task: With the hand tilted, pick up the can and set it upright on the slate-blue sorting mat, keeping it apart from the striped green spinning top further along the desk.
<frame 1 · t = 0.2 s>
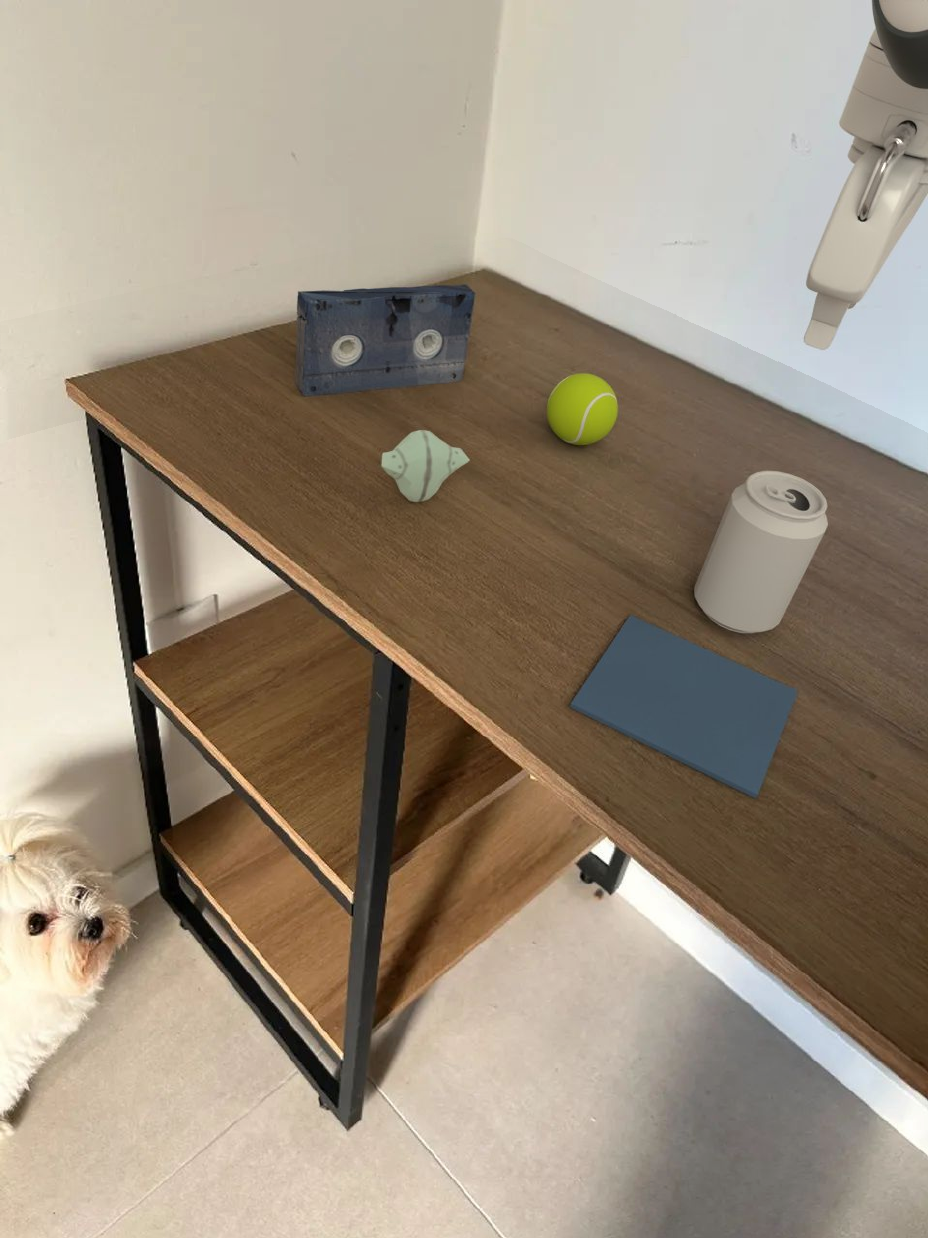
hand: (830, 323, 67), 23 cm above the table, tool pointing down, fingers open, 8 cm apart
can: (733, 611, 78), on the table
tennis ball: (573, 441, 96), on the table
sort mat: (686, 701, 69), on the table
vhs cassette tape: (380, 384, 99), on the table
striped green spinning top: (415, 501, 83), on the table
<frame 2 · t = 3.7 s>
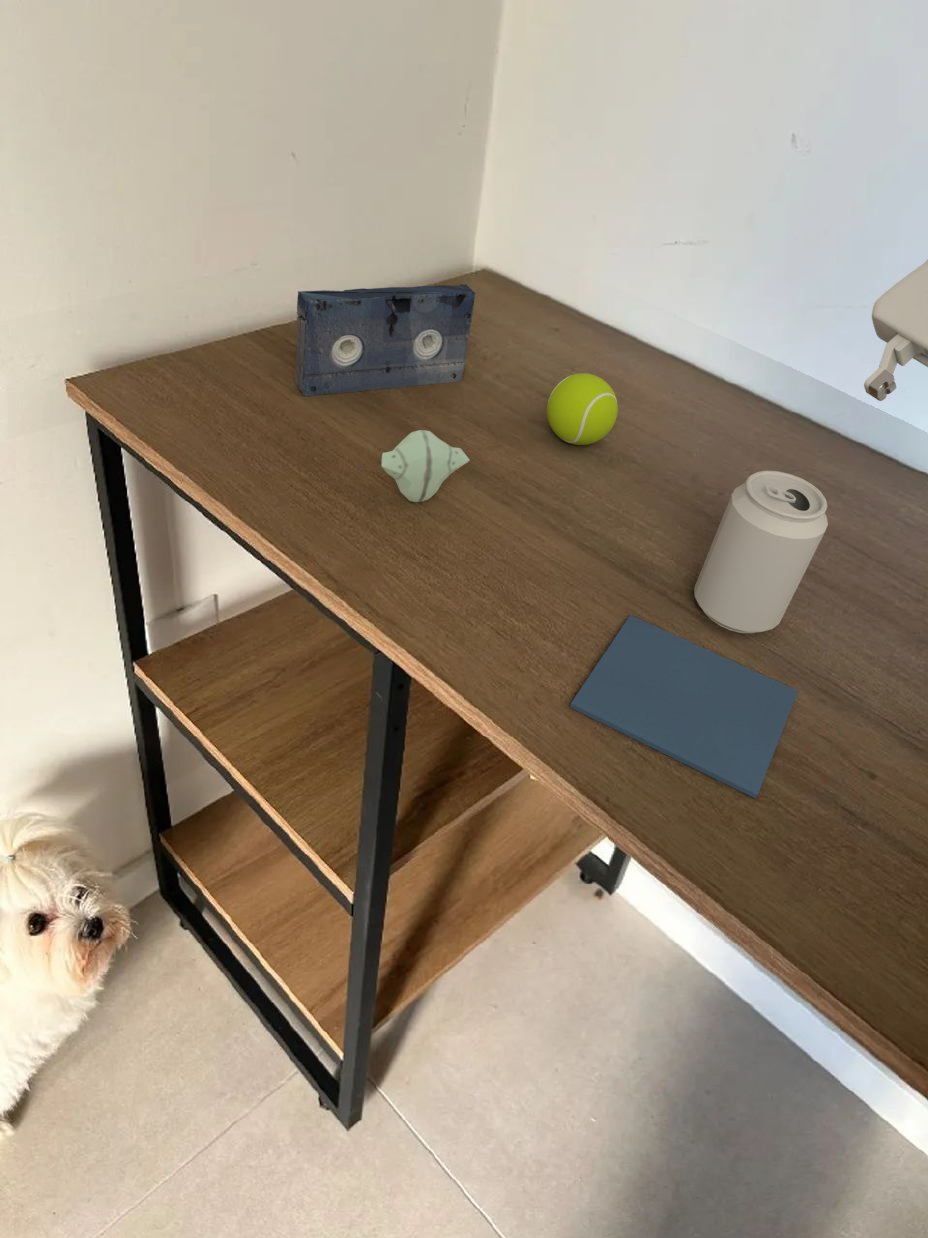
hand: (916, 422, 73), 16 cm above the table, tool tilted 45°, fingers open, 8 cm apart
nothing on the table moved.
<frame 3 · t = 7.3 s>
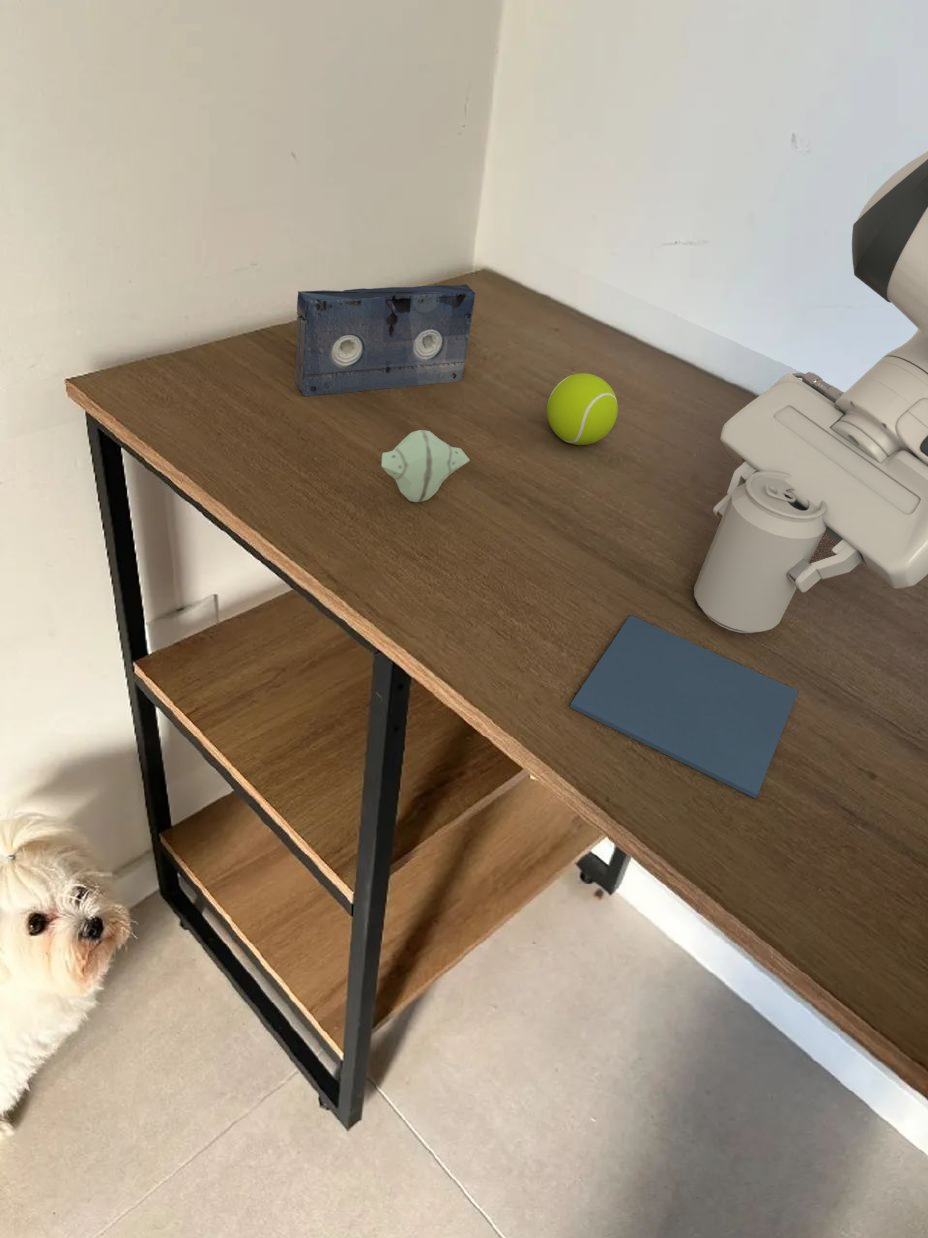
hand: (756, 550, 74), 6 cm above the table, tool tilted 45°, fingers closed on can, 7 cm apart
can: (733, 611, 78), on the table, touching gripper
everything else where it was.
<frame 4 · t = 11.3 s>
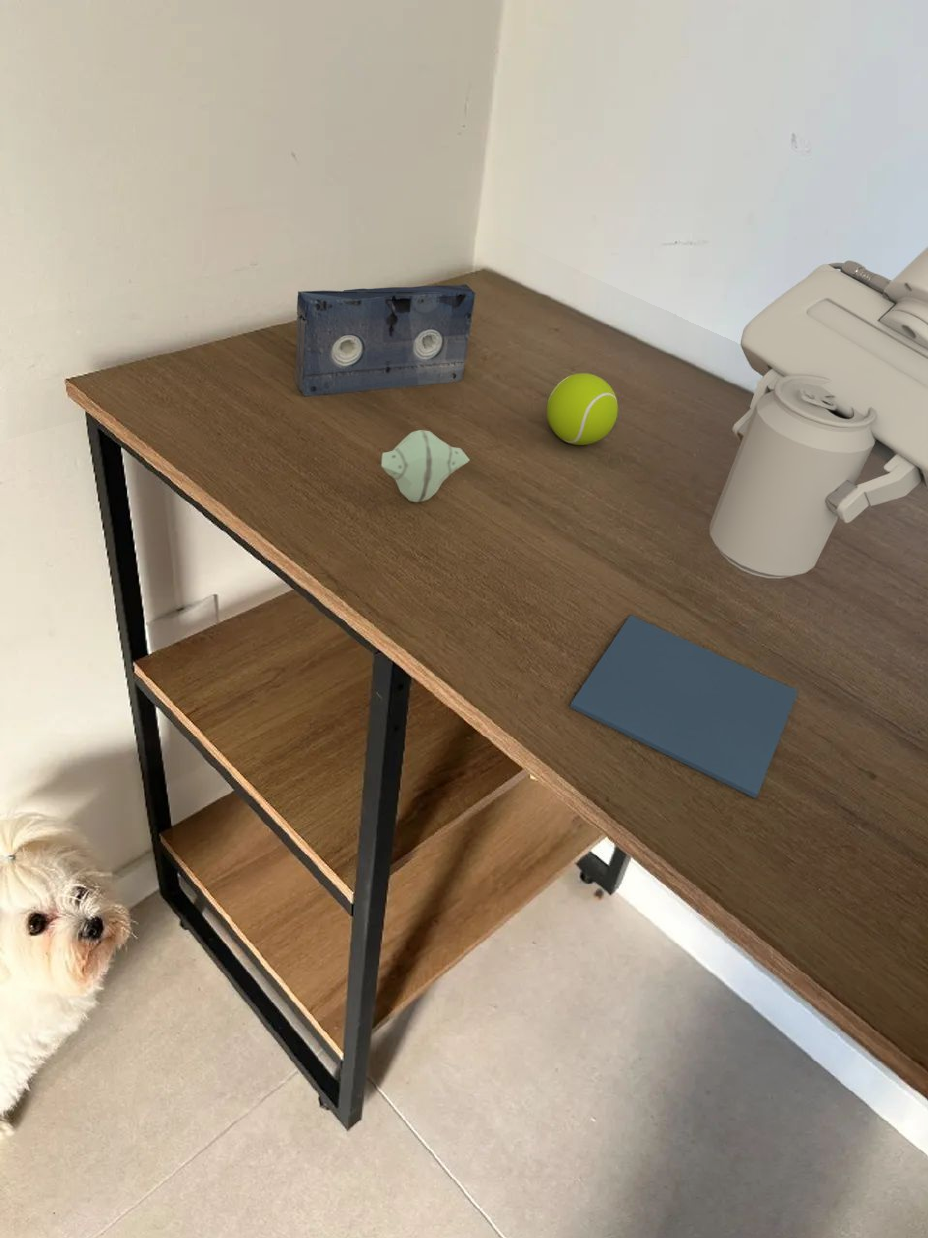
hand: (786, 475, 60), 18 cm above the table, tool tilted 45°, fingers closed on can, 7 cm apart
can: (757, 553, 64), point 11 cm above the table, touching gripper
everything else where it was.
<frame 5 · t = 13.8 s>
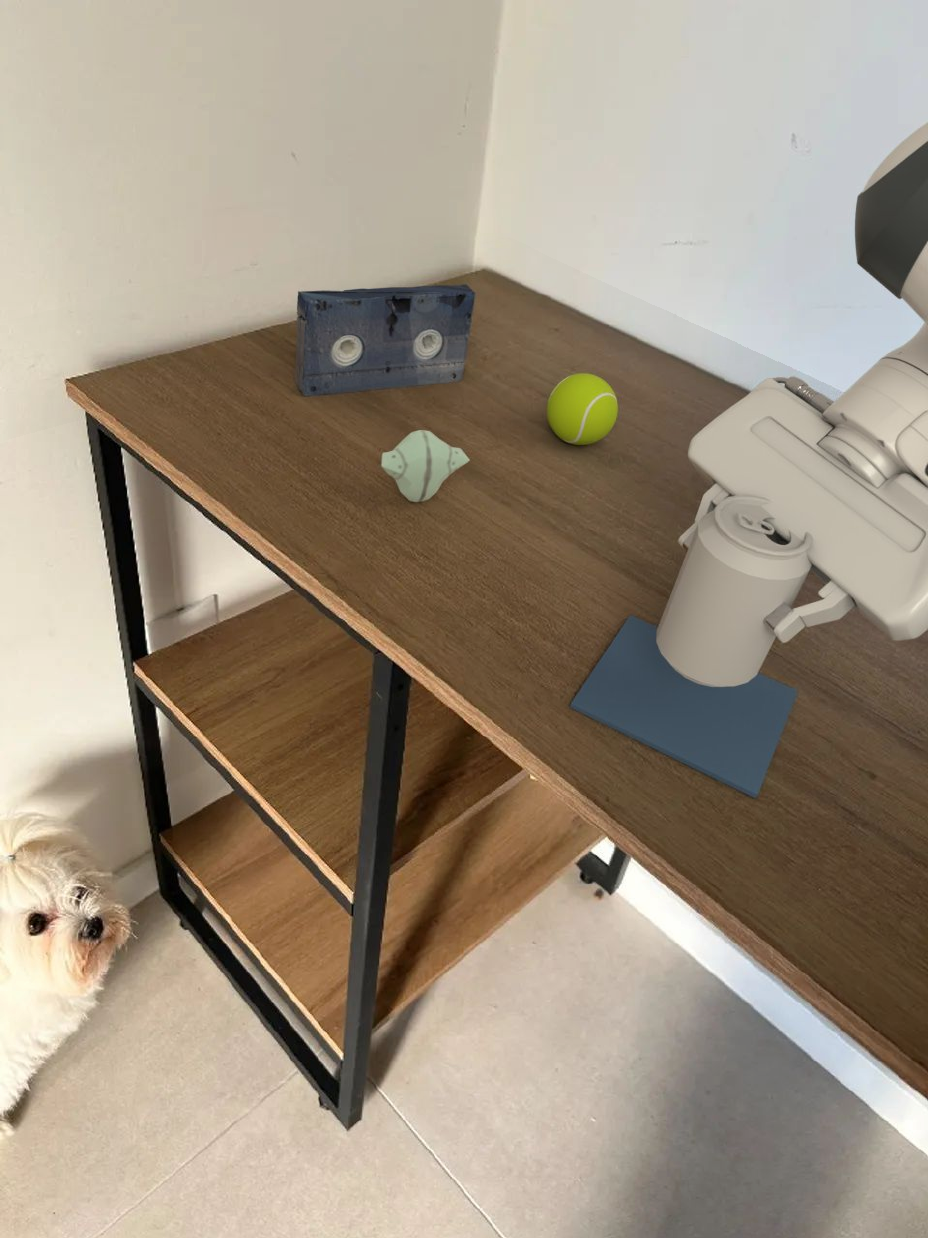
hand: (728, 591, 61), 11 cm above the table, tool tilted 45°, fingers closed on can, 7 cm apart
can: (703, 659, 66), point 4 cm above the table, touching gripper
everything else where it was.
when the fingers open (7 cm above the table, at t = 15.7 s): can stays where it is, resting on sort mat.
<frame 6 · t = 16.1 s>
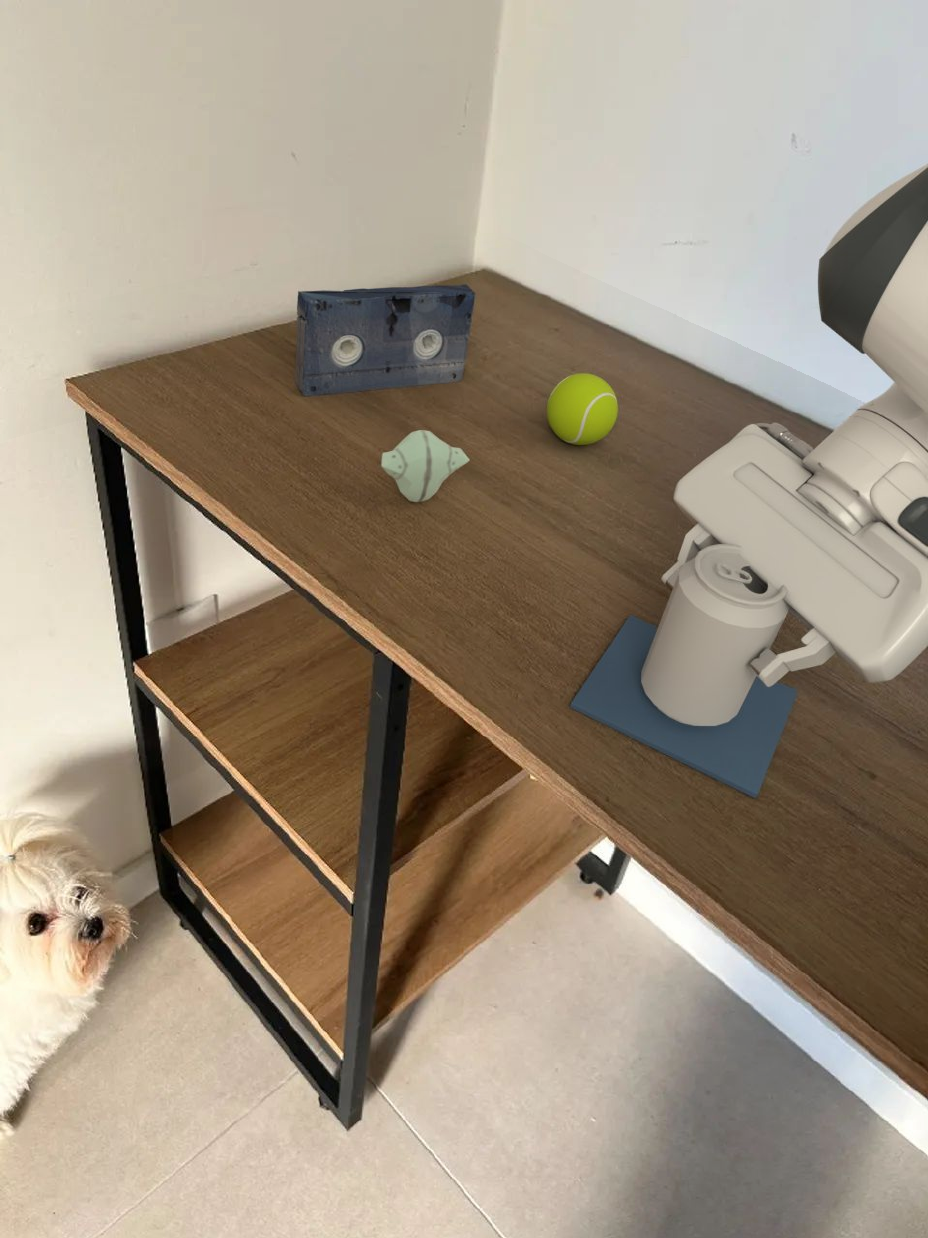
hand: (711, 631, 64), 7 cm above the table, tool tilted 45°, fingers open, 8 cm apart
can: (686, 697, 69), resting on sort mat
everything else where it was.
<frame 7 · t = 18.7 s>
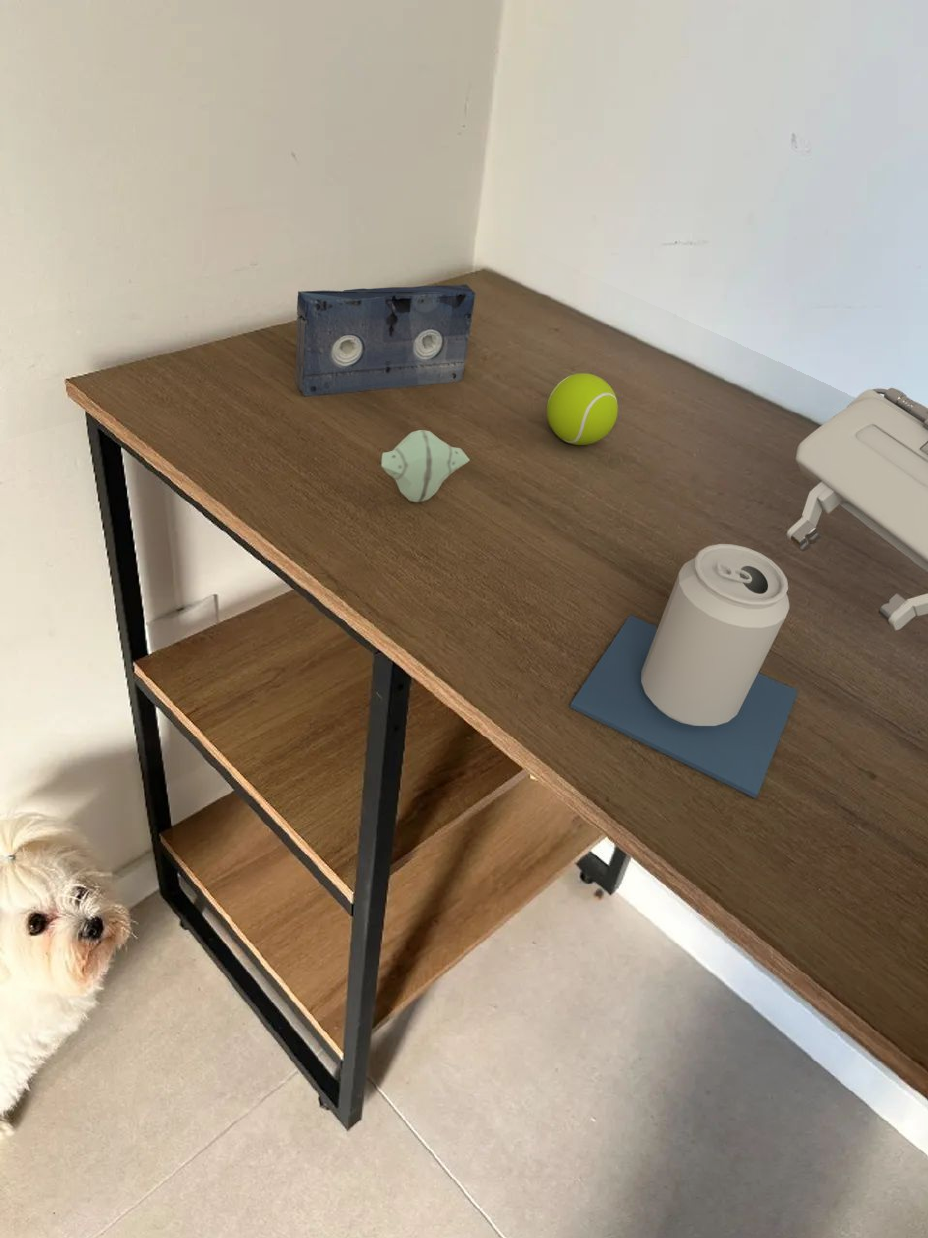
hand: (838, 580, 69), 8 cm above the table, tool tilted 45°, fingers open, 8 cm apart
nothing on the table moved.
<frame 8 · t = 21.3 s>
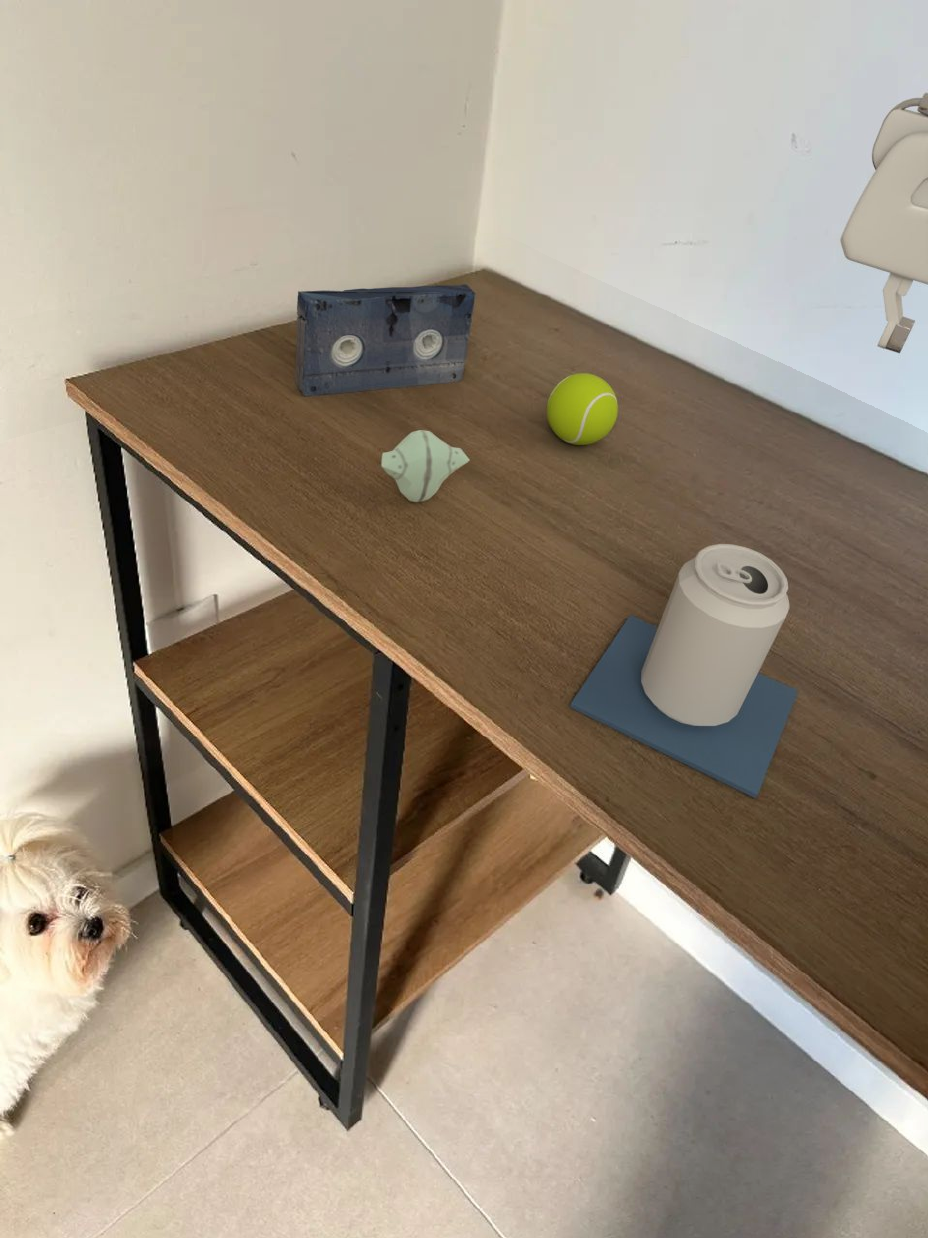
nothing on the table moved.
at the end: can inside the target area on the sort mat (0.1 cm from its centre), point 0.3 cm above the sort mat's base; can tilted 0°; the gripper is holding nothing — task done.
